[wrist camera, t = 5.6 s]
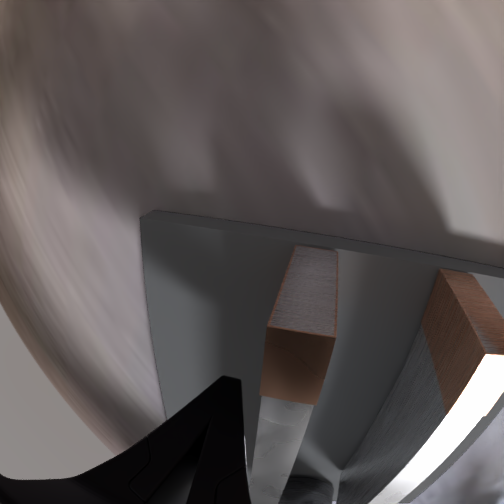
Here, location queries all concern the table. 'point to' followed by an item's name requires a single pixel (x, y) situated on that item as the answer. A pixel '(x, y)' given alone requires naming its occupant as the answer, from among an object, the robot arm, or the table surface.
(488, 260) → the table surface
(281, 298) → the tongs hinged arm
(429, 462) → the arm
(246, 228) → the charcoal mat
